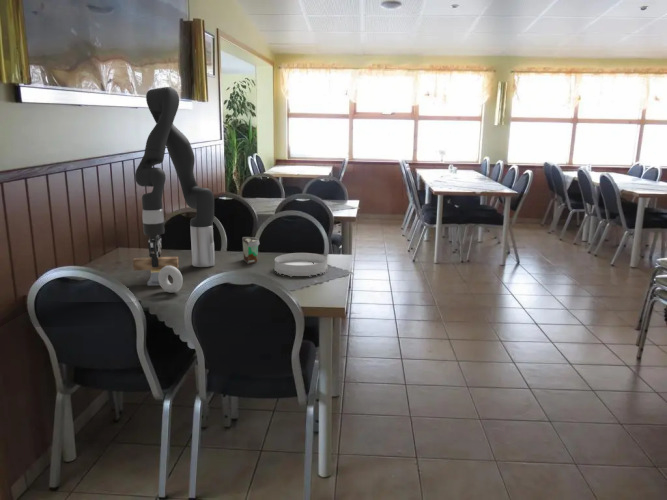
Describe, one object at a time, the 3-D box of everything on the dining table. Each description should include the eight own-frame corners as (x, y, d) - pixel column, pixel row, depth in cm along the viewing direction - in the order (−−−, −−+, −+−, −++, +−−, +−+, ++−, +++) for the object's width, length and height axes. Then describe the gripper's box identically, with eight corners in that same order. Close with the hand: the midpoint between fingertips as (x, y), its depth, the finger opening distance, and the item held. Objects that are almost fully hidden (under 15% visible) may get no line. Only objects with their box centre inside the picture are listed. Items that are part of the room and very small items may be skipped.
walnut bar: (178, 266, 212) (178, 256, 211) (177, 268, 209) (176, 258, 208) (135, 267, 210) (134, 257, 209) (133, 270, 207) (132, 259, 206)
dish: (312, 280, 216) (312, 267, 215) (264, 273, 225) (264, 261, 224) (336, 267, 235) (336, 255, 234) (290, 261, 244) (290, 250, 243)
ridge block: (167, 279, 215) (166, 265, 214) (164, 285, 207) (163, 270, 206) (151, 279, 214) (150, 266, 213) (147, 285, 206) (146, 271, 205)
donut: (185, 293, 198) (184, 266, 196) (179, 295, 195) (177, 268, 192) (163, 289, 202) (161, 263, 199) (157, 292, 199) (155, 265, 196)
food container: (263, 263, 239) (262, 241, 237) (249, 265, 237) (248, 242, 235) (256, 257, 250) (255, 236, 248) (242, 258, 248) (242, 236, 246)
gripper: (160, 224, 199) (163, 269, 203) (166, 217, 213) (169, 260, 217) (139, 224, 198) (142, 270, 202) (146, 218, 212) (149, 261, 216)
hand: (156, 265), depth 209 cm, fingers open, 5 cm apart
